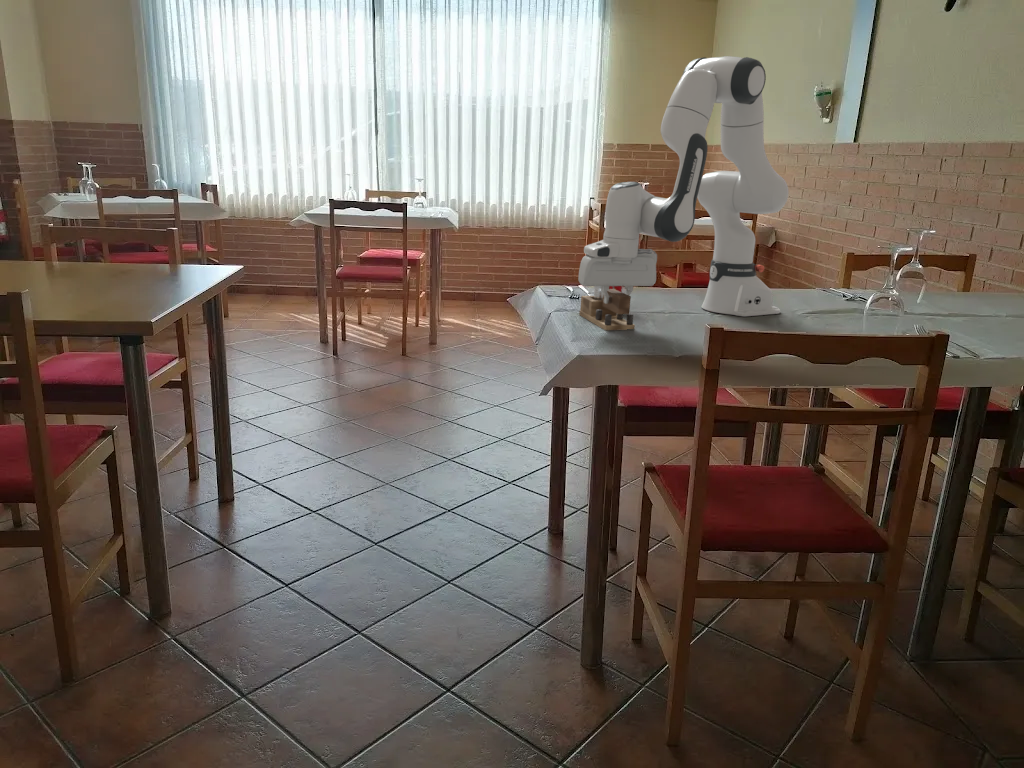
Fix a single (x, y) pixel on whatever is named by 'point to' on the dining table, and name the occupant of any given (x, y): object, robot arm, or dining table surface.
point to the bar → (618, 302)
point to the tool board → (604, 315)
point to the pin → (598, 293)
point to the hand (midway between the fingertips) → (615, 303)
